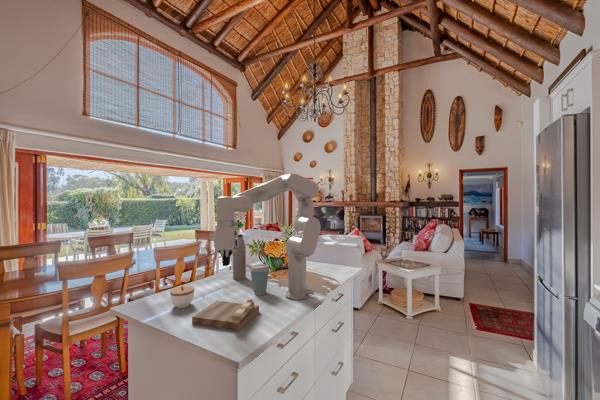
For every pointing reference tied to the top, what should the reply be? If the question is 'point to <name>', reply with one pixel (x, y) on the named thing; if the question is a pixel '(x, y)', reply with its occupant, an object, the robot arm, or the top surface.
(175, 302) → the lidded jar
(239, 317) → the oak leg
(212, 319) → the brown wooden flat board
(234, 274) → the thermos bottle
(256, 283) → the disposable coffee cup
